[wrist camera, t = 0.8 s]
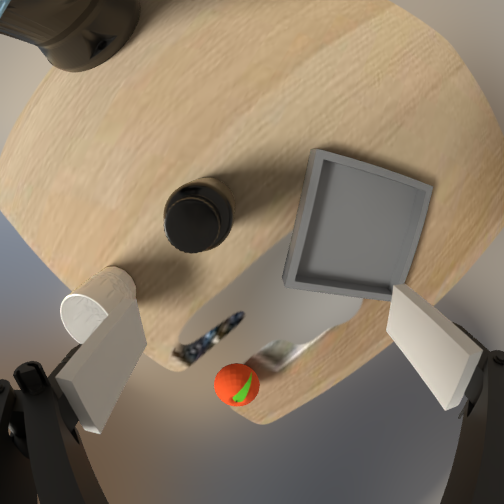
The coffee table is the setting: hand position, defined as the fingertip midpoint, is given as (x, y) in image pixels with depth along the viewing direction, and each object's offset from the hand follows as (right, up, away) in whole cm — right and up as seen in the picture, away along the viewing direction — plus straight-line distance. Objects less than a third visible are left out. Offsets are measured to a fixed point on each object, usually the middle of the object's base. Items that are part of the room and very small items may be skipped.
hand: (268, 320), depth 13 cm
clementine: (-3, -15, +30) cm, 33 cm away
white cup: (-21, -2, +24) cm, 32 cm away
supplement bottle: (-6, +9, +21) cm, 24 cm away
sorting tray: (+13, +6, +22) cm, 27 cm away
